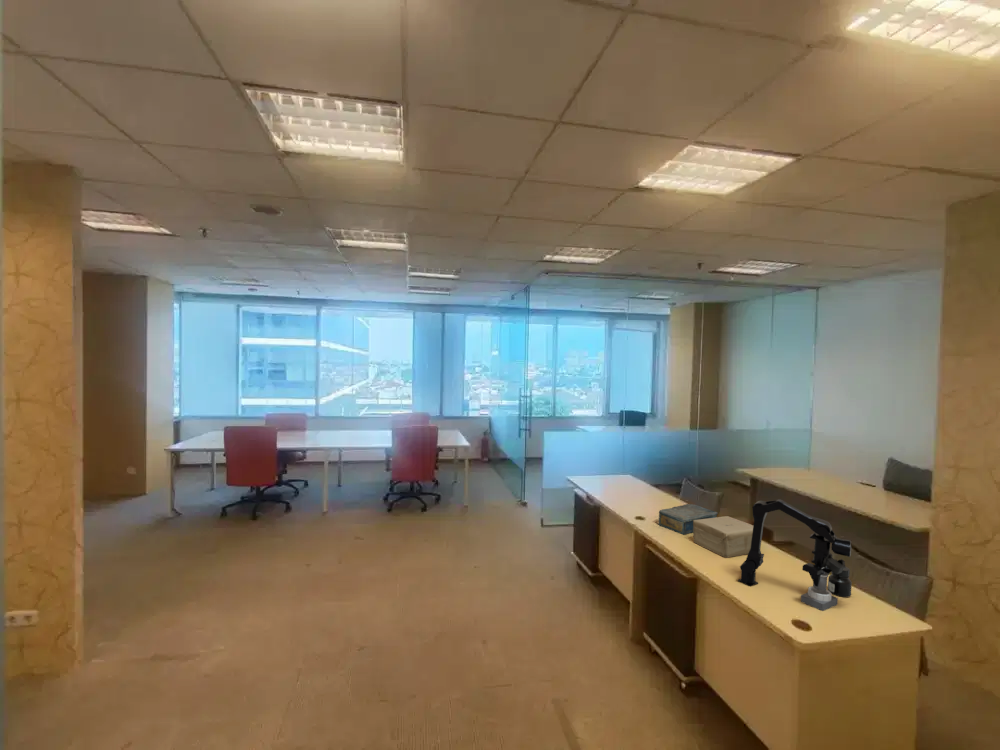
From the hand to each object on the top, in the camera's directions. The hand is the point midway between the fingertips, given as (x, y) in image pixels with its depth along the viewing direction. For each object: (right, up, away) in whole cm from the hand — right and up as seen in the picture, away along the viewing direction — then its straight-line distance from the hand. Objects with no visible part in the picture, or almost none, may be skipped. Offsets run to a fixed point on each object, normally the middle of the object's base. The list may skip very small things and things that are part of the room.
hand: (819, 584), depth 218 cm
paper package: (-13, -6, +63) cm, 64 cm away
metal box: (-22, -4, +97) cm, 99 cm away
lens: (0, -1, 0) cm, 1 cm away
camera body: (0, -8, 0) cm, 8 cm away
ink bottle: (+16, -8, +11) cm, 21 cm away
